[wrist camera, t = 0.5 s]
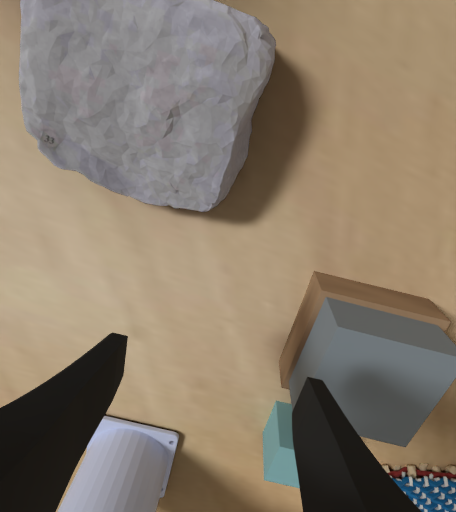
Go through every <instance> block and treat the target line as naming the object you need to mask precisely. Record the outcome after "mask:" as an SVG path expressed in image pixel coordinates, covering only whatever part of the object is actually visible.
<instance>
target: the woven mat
mask: <svg viewBox="0 0 456 512" xmlns="http://www.w3.org/2000/svg"><path fill="white" fill-rule="evenodd" d="M427 465H428V464H427V463H420V466H419V470H418V469H416V468H415V465H407V467H403V468H402V469H401V470H400V465H394V468H393V471H389V468H388V465H386V464H382V465H381V466H382V467H383V468H384V470H385V471H386V472H387V473H388V474H389V475H390V477H391V478H392V479H393V480H394V481H395V483H396V484H397V485H398V486H399V487H400V488H401V490H402V491H403V492H404V493H405V494H406V495H407V496H408V497H409V499H410V500H411V501H412V502H413V503H414V504H415V505H416V506H417V507H418V508H419V509H420V510H421V511H422V512H456V467H455V466H453V465H448V466H447V467H446V470H445V473H441V469H440V467H439V466H434V467H433V468H432V472H430V471H426V470H427ZM416 475H417V478H416ZM400 476H402V478H399V477H400Z"/></svg>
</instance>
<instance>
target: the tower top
mask: <svg viewBox="0 0 456 512" xmlns="http://www.w3.org/2000/svg"><path fill="white" fill-rule="evenodd" d="M307 377H311V378H316V379H320V380H323V382H324V383H325V385H326V386H327V388H328V389H329V391H330V393H331V394H332V396H333V397H334V399H335V400H336V402H337V404H338V405H339V407H340V408H341V410H342V411H343V413H344V414H345V416H346V417H347V419H348V420H349V422H350V423H351V425H352V426H353V428H354V429H355V431H356V432H357V434H358V435H359V436H361V437H365V438H370V439H374V440H378V441H382V442H386V443H390V444H394V445H398V446H402V447H406V446H407V445H408V443H409V442H410V440H411V439H412V438H413V436H414V435H415V433H416V432H417V431H418V429H419V428H420V427H421V425H422V424H423V422H424V421H425V420H426V418H427V417H428V415H429V414H430V413H431V411H432V410H433V409H434V407H435V406H436V404H437V403H438V402H439V400H440V399H441V397H442V396H443V395H444V393H445V392H446V391H447V389H448V388H449V386H450V385H451V384H452V382H453V381H454V379H455V378H456V345H455V344H454V343H453V342H452V341H451V340H450V338H449V337H448V336H447V335H446V334H445V333H444V332H443V331H442V330H441V328H440V327H439V326H438V325H435V324H431V323H427V322H423V321H419V320H415V319H411V318H407V317H403V316H400V315H396V314H392V313H388V312H384V311H380V310H376V309H372V308H368V307H364V306H360V305H356V304H352V303H349V302H345V301H341V300H337V299H333V298H329V297H326V298H325V300H324V302H323V304H322V307H321V309H320V311H319V314H318V316H317V318H316V320H315V323H314V325H313V327H312V330H311V332H310V334H309V336H308V339H307V341H306V343H305V346H304V348H303V350H302V352H301V355H300V357H299V359H298V362H297V364H296V366H295V368H294V371H293V373H292V375H291V378H290V380H289V388H290V396H291V403H292V411H293V409H294V407H295V404H296V402H297V400H298V397H299V395H300V393H301V390H302V388H303V386H304V383H305V381H306V379H307Z"/></svg>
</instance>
